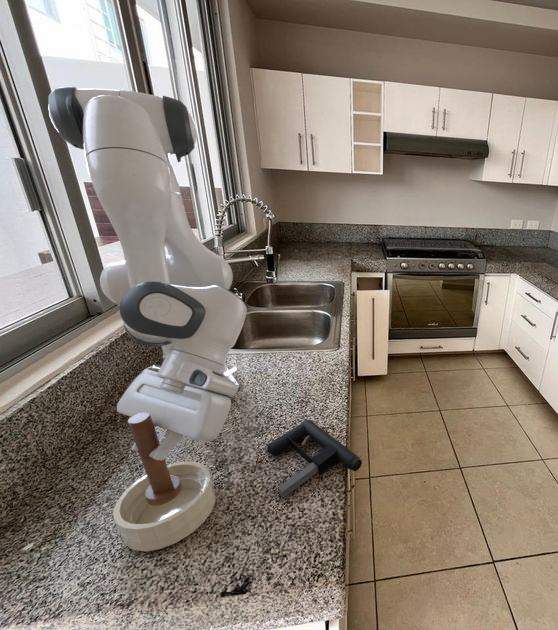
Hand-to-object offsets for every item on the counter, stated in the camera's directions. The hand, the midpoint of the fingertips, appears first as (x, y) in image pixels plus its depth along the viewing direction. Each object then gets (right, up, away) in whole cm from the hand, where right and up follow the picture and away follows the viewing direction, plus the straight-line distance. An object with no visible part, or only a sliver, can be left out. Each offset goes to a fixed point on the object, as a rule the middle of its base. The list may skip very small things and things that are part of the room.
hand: (147, 455), depth 55 cm
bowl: (0, -13, +6) cm, 15 cm away
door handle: (+20, -9, +18) cm, 29 cm away
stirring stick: (0, -8, +4) cm, 9 cm away
